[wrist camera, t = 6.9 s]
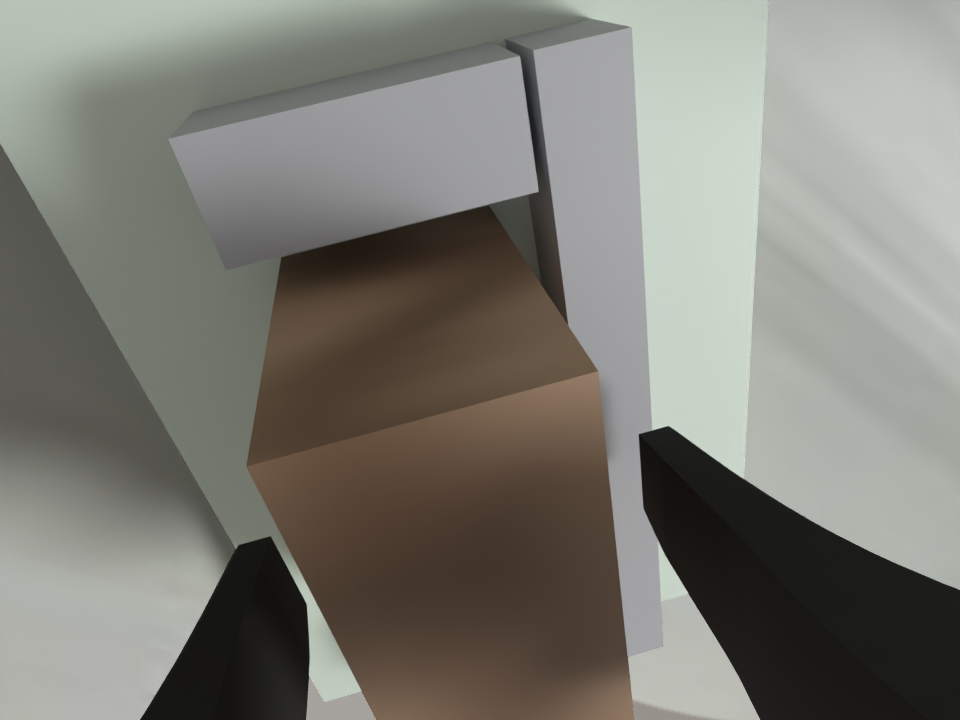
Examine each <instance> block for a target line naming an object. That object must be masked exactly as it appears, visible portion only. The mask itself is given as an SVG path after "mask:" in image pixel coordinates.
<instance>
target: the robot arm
mask: <svg viewBox="0 0 960 720" xmlns="http://www.w3.org/2000/svg"><path fill="white" fill-rule="evenodd" d="M639 449H640V464H641V479H642V495H643V509H644V511H645V513H646V515H647V518H648V520H649V522H650V524H651V526H652V529H653V531H654V533H655V535H656V537H657V539H658V541H659V544H660V546H661V548H662V550H663V552H664V554H665V556H666V558H667V559H668V561H669V563H670V564H671V566H672V567H673V569H674V571H675V572H676V574H677V576H678V577H679V579H680V581H681V582H682V584H683V585H684V587H685V589H686V590H687V592H688V594H689V595H690V597H691V598H692V600H693V602H694V603H695V605H696V606H697V608H698V610H699V611H700V613H701V615H702V616H703V618H704V619H705V621H706V623H707V624H708V626H709V627H710V629H711V631H712V632H713V634H714V635H715V637H716V639H717V640H718V642H719V644H720V645H721V647H722V648H723V650H724V652H725V653H726V655H727V657H728V658H729V660H730V662H731V664H732V665H733V667H734V669H735V671H736V672H737V674H738V676H739V678H740V680H741V682H742V684H743V686H744V688H745V690H746V692H747V694H748V696H749V698H750V700H751V702H752V704H753V706H754V708H755V710H756V712H757V714H758V716H759V718H760V720H960V590H958V589H956V588H953V587H951V586H948V585H945V584H943V583H940V582H938V581H936V580H933V579H931V578H929V577H926V576H924V575H922V574H919V573H917V572H914V571H912V570H910V569H907V568H905V567H903V566H900V565H898V564H896V563H893V562H891V561H889V560H887V559H885V558H882V557H880V556H878V555H876V554H874V553H872V552H870V551H868V550H866V549H864V548H862V547H860V546H858V545H856V544H854V543H852V542H850V541H848V540H846V539H844V538H842V537H840V536H838V535H836V534H834V533H832V532H830V531H828V530H826V529H825V528H823V527H821V526H819V525H817V524H816V523H814V522H812V521H810V520H809V519H807V518H805V517H804V516H802V515H800V514H798V513H797V512H795V511H793V510H792V509H790V508H788V507H787V506H785V505H783V504H782V503H780V502H779V501H777V500H775V499H774V498H772V497H771V496H769V495H767V494H766V493H764V492H763V491H761V490H760V489H758V488H757V487H755V486H754V485H752V484H751V483H749V482H748V481H746V480H745V479H743V478H742V477H740V476H739V475H737V474H736V473H734V472H733V471H731V470H730V469H728V468H727V467H725V466H724V465H723V464H721V463H720V462H718V461H717V460H716V459H714V458H713V457H711V456H710V455H709V454H707V453H706V452H704V451H703V450H702V449H700V448H699V447H698V446H696V445H695V444H693V443H692V442H691V441H689V440H688V439H687V438H685V437H684V436H683V435H681V434H680V433H678V432H677V431H676V430H674V429H673V428H671V427H669V426H666V427H663V428H659V429H656V430H652V431H648V432H645V433H641V434H639ZM309 664H310V650H309V629H308V614H307V604H306V602H305V600H304V598H303V596H302V594H301V592H300V590H299V588H298V587H297V585H296V583H295V581H294V579H293V577H292V575H291V573H290V571H289V570H288V568H287V566H286V564H285V562H284V560H283V558H282V556H281V554H280V553H279V551H278V549H277V547H276V545H275V543H274V541H273V539H272V537H271V536H269V537H265V538H262V539H258V540H255V541H251V542H247V543H244V544H240V545H238V547H237V548H236V550H235V551H234V553H233V555H232V557H231V559H230V561H229V563H228V565H227V567H226V569H225V571H224V573H223V575H222V577H221V579H220V581H219V582H218V584H217V586H216V588H215V590H214V592H213V594H212V596H211V598H210V600H209V602H208V604H207V606H206V607H205V609H204V611H203V613H202V615H201V617H200V619H199V621H198V622H197V624H196V626H195V628H194V630H193V632H192V633H191V635H190V637H189V639H188V641H187V642H186V644H185V646H184V648H183V650H182V651H181V653H180V655H179V657H178V659H177V660H176V662H175V664H174V665H173V667H172V669H171V670H170V672H169V674H168V675H167V677H166V679H165V680H164V682H163V684H162V685H161V687H160V689H159V690H158V692H157V693H156V695H155V697H154V698H153V700H152V702H151V703H150V705H149V707H148V708H147V710H146V711H145V713H144V715H143V716H142V718H141V719H140V720H306V711H307V697H308V696H307V695H308V681H309Z"/></svg>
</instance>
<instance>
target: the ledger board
mask: <svg viewBox="0 0 960 720" xmlns="http://www.w3.org/2000/svg"><path fill="white" fill-rule="evenodd" d="M768 8H769V0H0V144H1V146H2V148H3V149H4V151H5V153H6V154H7V156H8V158H9V160H10V161H11V163H12V165H13V166H14V168H15V170H16V172H17V173H18V175H19V177H20V178H21V180H22V182H23V184H24V185H25V187H26V189H27V191H28V192H29V194H30V196H31V197H32V199H33V201H34V203H35V204H36V206H37V208H38V209H39V211H40V213H41V215H42V216H43V218H44V220H45V222H46V223H47V225H48V227H49V228H50V230H51V232H52V234H53V235H54V237H55V239H56V240H57V242H58V244H59V246H60V247H61V249H62V251H63V253H64V254H65V256H66V258H67V259H68V261H69V263H70V265H71V266H72V268H73V270H74V271H75V273H76V275H77V277H78V278H79V280H80V282H81V283H82V285H83V287H84V289H85V290H86V292H87V294H88V296H89V297H90V299H91V301H92V302H93V304H94V306H95V308H96V309H97V311H98V313H99V314H100V316H101V318H102V320H103V321H104V323H105V325H106V327H107V328H108V330H109V332H110V333H111V335H112V337H113V339H114V340H115V342H116V344H117V345H118V347H119V349H120V351H121V352H122V354H123V356H124V358H125V359H126V361H127V363H128V364H129V366H130V368H131V370H132V371H133V373H134V375H135V376H136V378H137V380H138V382H139V383H140V385H141V387H142V388H143V390H144V392H145V394H146V395H147V397H148V399H149V401H150V402H151V404H152V406H153V407H154V409H155V411H156V413H157V414H158V416H159V418H160V419H161V421H162V423H163V425H164V426H165V428H166V430H167V432H168V433H169V435H170V437H171V438H172V440H173V442H174V444H175V445H176V447H177V449H178V450H179V452H180V454H181V456H182V457H183V459H184V461H185V463H186V464H187V466H188V468H189V469H190V471H191V473H192V475H193V476H194V478H195V480H196V481H197V483H198V485H199V487H200V488H201V490H202V492H203V493H204V495H205V497H206V499H207V500H208V502H209V504H210V506H211V507H212V509H213V511H214V512H215V514H216V516H217V518H218V519H219V521H220V523H221V524H222V526H223V528H224V530H225V531H226V533H227V535H228V537H229V538H230V540H231V542H232V543H233V545H234V547H235V549H236V548H237V547H238V545H240V544H244V543H247V542H251V541H255V540H258V539H262V538H265V537H269V536H271V537H272V539H273V541H274V543H275V545H276V547H277V549H278V551H279V553H280V554H281V556H282V558H283V560H284V562H285V564H286V566H287V568H288V570H289V571H290V573H291V575H292V577H293V579H294V581H295V583H296V585H297V587H298V588H299V590H300V592H301V594H302V596H303V598H304V600H305V602H306V604H307V614H308V629H309V650H310V664H309V676H310V678H311V679H312V681H313V683H314V684H315V686H316V688H317V690H318V691H319V693H320V695H321V697H322V698H323V700H324V702H327V701H330V700H333V699H337V698H340V697H343V696H347V695H350V694H353V693H357V692H360V691H361V689H360V687H359V685H358V683H357V681H356V679H355V677H354V675H353V673H352V671H351V669H350V667H349V665H348V664H347V662H346V660H345V658H344V656H343V654H342V652H341V650H340V648H339V646H338V644H337V642H336V640H335V638H334V636H333V634H332V632H331V630H330V629H329V627H328V625H327V623H326V621H325V619H324V617H323V615H322V613H321V611H320V609H319V607H318V605H317V603H316V601H315V599H314V597H313V596H312V594H311V592H310V590H309V588H308V586H307V584H306V582H305V580H304V578H303V576H302V574H301V572H300V570H299V568H298V566H297V564H296V562H295V561H294V559H293V557H292V555H291V553H290V551H289V549H288V547H287V545H286V543H285V541H284V539H283V537H282V535H281V533H280V531H279V529H278V527H277V526H276V524H275V522H274V520H273V518H272V516H271V514H270V512H269V510H268V508H267V506H266V504H265V502H264V500H263V498H262V496H261V494H260V493H259V491H258V489H257V487H256V485H255V483H254V481H253V479H252V477H251V475H250V473H249V471H248V469H247V467H246V465H247V459H248V453H249V447H250V441H251V435H252V429H253V423H254V417H255V411H256V405H257V399H258V393H259V387H260V381H261V375H262V369H263V363H264V357H265V351H266V345H267V339H268V333H269V327H270V321H271V315H272V309H273V303H274V297H275V291H276V286H277V280H278V274H279V268H280V262H281V257H285V256H289V255H293V254H297V253H301V252H304V251H308V250H312V249H316V248H320V247H324V246H328V245H332V244H336V243H340V242H344V241H348V240H352V239H356V238H360V237H364V236H368V235H372V234H376V233H380V232H384V231H388V230H392V229H396V228H400V227H404V226H408V225H412V224H416V223H420V222H424V221H428V220H432V219H436V218H440V217H444V216H448V215H452V214H456V213H460V212H464V211H468V210H472V209H476V208H480V207H484V206H488V205H489V206H490V208H491V209H492V211H493V212H494V214H495V215H496V217H497V218H498V220H499V221H500V223H501V224H502V226H503V227H504V229H505V231H506V232H507V234H508V235H509V237H510V238H511V240H512V241H513V243H514V244H515V246H516V247H517V249H518V250H519V252H520V253H521V255H522V256H523V258H524V259H525V261H526V262H527V264H528V265H529V267H530V268H531V270H532V271H533V273H534V274H535V276H536V278H537V279H538V281H539V282H540V284H541V285H542V287H543V288H544V290H545V291H546V293H547V294H548V296H549V297H550V299H551V300H552V302H553V303H554V305H555V306H556V308H557V309H558V311H559V312H560V314H561V315H562V317H563V318H564V320H565V321H566V323H567V324H568V326H569V328H570V329H571V331H572V332H573V334H574V335H575V337H576V338H577V340H578V341H579V343H580V344H581V346H582V347H583V349H584V350H585V352H586V353H587V355H588V356H589V358H590V359H591V361H592V362H593V364H594V365H595V367H596V368H597V370H598V373H599V383H600V393H601V402H602V412H603V422H604V432H605V441H606V451H607V461H608V470H609V480H610V490H611V500H612V509H613V519H614V529H615V538H616V548H617V558H618V568H619V577H620V587H621V597H622V606H623V616H624V626H625V636H626V645H627V655H628V657H629V656H633V655H636V654H639V653H642V652H646V651H649V650H652V649H656V648H659V647H662V646H663V632H662V612H661V602H662V601H666V600H669V599H672V598H676V597H679V596H682V595H686V594H688V592H687V590H686V589H685V587H684V585H683V584H682V582H681V581H680V579H679V577H678V576H677V574H676V572H675V571H674V569H673V567H672V566H671V564H670V563H669V561H668V559H667V558H666V556H665V554H664V552H663V550H662V548H661V546H660V544H659V541H658V539H657V537H656V535H655V533H654V531H653V529H652V526H651V524H650V522H649V520H648V518H647V515H646V513H645V511H644V509H643V495H642V479H641V464H640V449H639V434H641V433H645V432H648V431H652V430H656V429H659V428H663V427H666V426H669V427H671V428H673V429H674V430H676V431H677V432H678V433H680V434H681V435H683V436H684V437H685V438H687V439H688V440H689V441H691V442H692V443H693V444H695V445H696V446H698V447H699V448H700V449H702V450H703V451H704V452H706V453H707V454H709V455H710V456H711V457H713V458H714V459H716V460H717V461H718V462H720V463H721V464H723V465H724V466H725V467H727V468H728V469H730V470H731V471H733V472H734V473H736V474H737V475H739V476H740V477H742V478H743V479H744V468H745V448H746V429H747V410H748V391H749V372H750V353H751V333H752V314H753V295H754V276H755V257H756V238H757V218H758V199H759V180H760V161H761V142H762V123H763V103H764V84H765V65H766V46H767V27H768Z"/></svg>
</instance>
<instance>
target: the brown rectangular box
mask: <svg viewBox="0 0 960 720" xmlns="http://www.w3.org/2000/svg"><path fill="white" fill-rule="evenodd" d="M246 467H247V469H248V471H249V473H250V475H251V477H252V479H253V481H254V483H255V485H256V487H257V489H258V491H259V493H260V494H261V496H262V498H263V500H264V502H265V504H266V506H267V508H268V510H269V512H270V514H271V516H272V518H273V520H274V522H275V524H276V526H277V527H278V529H279V531H280V533H281V535H282V537H283V539H284V541H285V543H286V545H287V547H288V549H289V551H290V553H291V555H292V557H293V559H294V561H295V562H296V564H297V566H298V568H299V570H300V572H301V574H302V576H303V578H304V580H305V582H306V584H307V586H308V588H309V590H310V592H311V594H312V596H313V597H314V599H315V601H316V603H317V605H318V607H319V609H320V611H321V613H322V615H323V617H324V619H325V621H326V623H327V625H328V627H329V629H330V630H331V632H332V634H333V636H334V638H335V640H336V642H337V644H338V646H339V648H340V650H341V652H342V654H343V656H344V658H345V660H346V662H347V664H348V665H349V667H350V669H351V671H352V673H353V675H354V677H355V679H356V681H357V683H358V685H359V687H360V689H361V691H362V693H363V695H364V697H365V698H366V700H367V702H368V704H369V706H370V708H371V710H372V712H373V714H374V716H375V718H376V720H634V715H633V714H634V713H633V704H632V694H631V684H630V674H629V665H628V655H627V645H626V636H625V626H624V616H623V606H622V597H621V587H620V577H619V568H618V558H617V548H616V538H615V529H614V519H613V509H612V500H611V490H610V480H609V470H608V461H607V451H606V441H605V432H604V422H603V412H602V402H601V393H600V383H599V373H598V370H597V368H596V367H595V365H594V364H593V362H592V361H591V359H590V358H589V356H588V355H587V353H586V352H585V350H584V349H583V347H582V346H581V344H580V343H579V341H578V340H577V338H576V337H575V335H574V334H573V332H572V331H571V329H570V328H569V326H568V324H567V323H566V321H565V320H564V318H563V317H562V315H561V314H560V312H559V311H558V309H557V308H556V306H555V305H554V303H553V302H552V300H551V299H550V297H549V296H548V294H547V293H546V291H545V290H544V288H543V287H542V285H541V284H540V282H539V281H538V279H537V278H536V276H535V274H534V273H533V271H532V270H531V268H530V267H529V265H528V264H527V262H526V261H525V259H524V258H523V256H522V255H521V253H520V252H519V250H518V249H517V247H516V246H515V244H514V243H513V241H512V240H511V238H510V237H509V235H508V234H507V232H506V231H505V229H504V227H503V226H502V224H501V223H500V221H499V220H498V218H497V217H496V215H495V214H494V212H493V211H492V209H491V208H490V206H489V205H488V206H484V207H480V208H476V209H472V210H468V211H464V212H460V213H456V214H452V215H448V216H444V217H440V218H436V219H432V220H428V221H424V222H420V223H416V224H412V225H408V226H404V227H400V228H396V229H392V230H388V231H384V232H380V233H376V234H372V235H368V236H364V237H360V238H356V239H352V240H348V241H344V242H340V243H336V244H332V245H328V246H324V247H320V248H316V249H312V250H308V251H304V252H301V253H297V254H293V255H289V256H285V257H281V262H280V268H279V274H278V280H277V286H276V291H275V297H274V303H273V309H272V315H271V321H270V327H269V333H268V339H267V345H266V351H265V357H264V363H263V369H262V375H261V381H260V387H259V393H258V399H257V405H256V411H255V417H254V423H253V429H252V435H251V441H250V447H249V453H248V459H247V465H246Z"/></svg>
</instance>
